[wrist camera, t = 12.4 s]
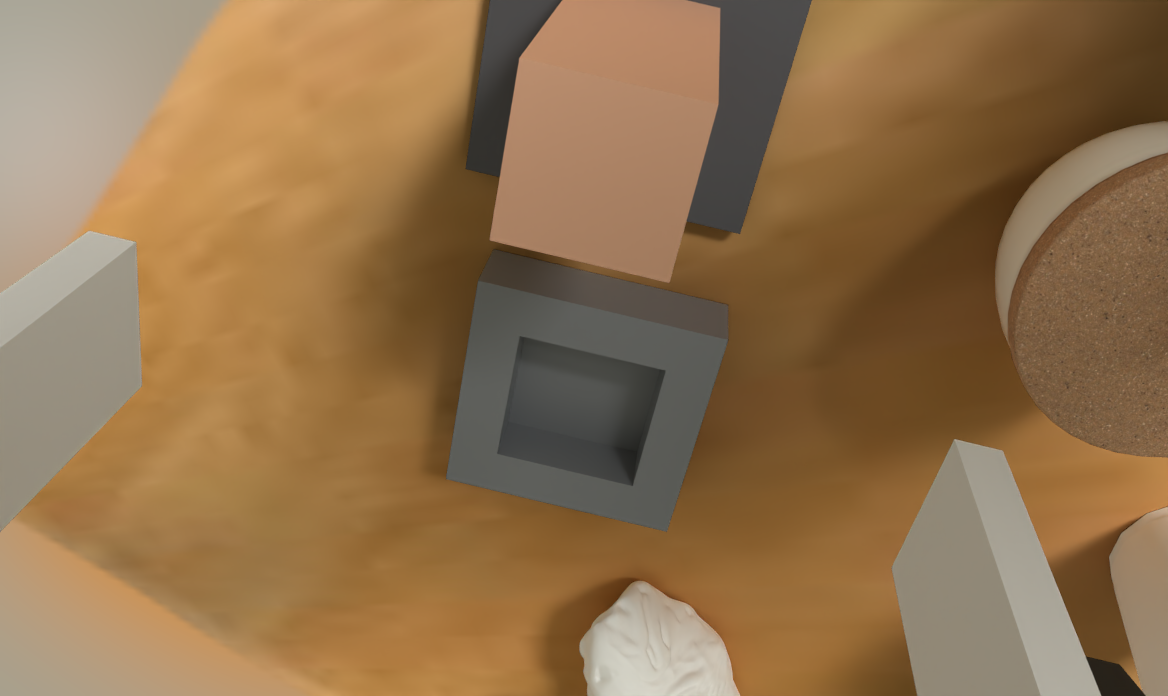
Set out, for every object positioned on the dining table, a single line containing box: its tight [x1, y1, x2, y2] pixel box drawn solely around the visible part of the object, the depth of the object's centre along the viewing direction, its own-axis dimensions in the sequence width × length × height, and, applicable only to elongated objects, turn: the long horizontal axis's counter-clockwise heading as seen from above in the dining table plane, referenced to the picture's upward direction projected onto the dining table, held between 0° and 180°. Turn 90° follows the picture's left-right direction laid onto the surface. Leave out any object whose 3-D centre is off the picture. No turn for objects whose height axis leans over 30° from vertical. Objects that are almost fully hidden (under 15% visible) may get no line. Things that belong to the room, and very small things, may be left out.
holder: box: [446, 249, 728, 532], centre depth 42 cm, size 10×10×3 cm
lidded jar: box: [995, 121, 1168, 457], centre depth 33 cm, size 11×11×9 cm
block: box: [489, 0, 720, 283], centre depth 31 cm, size 5×5×12 cm
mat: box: [466, 0, 812, 234], centre depth 36 cm, size 11×11×1 cm
